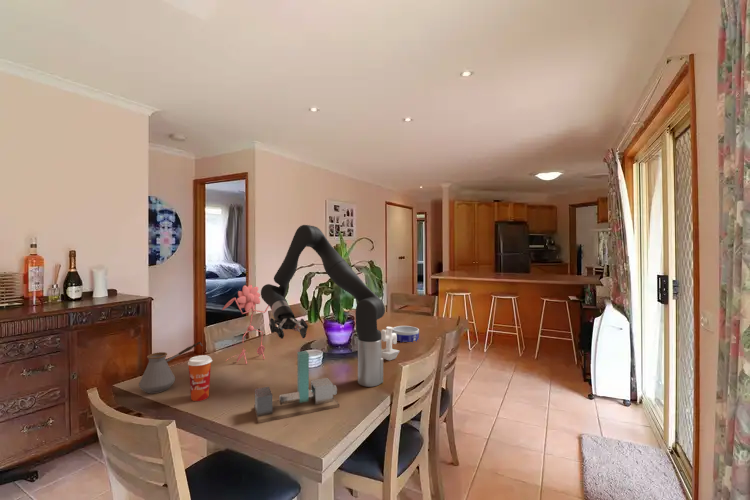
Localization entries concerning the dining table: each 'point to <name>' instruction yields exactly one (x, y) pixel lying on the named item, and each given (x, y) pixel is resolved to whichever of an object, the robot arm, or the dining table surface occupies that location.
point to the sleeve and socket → (320, 385)
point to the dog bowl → (406, 333)
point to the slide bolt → (302, 383)
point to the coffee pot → (159, 372)
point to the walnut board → (295, 409)
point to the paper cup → (199, 377)
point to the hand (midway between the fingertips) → (293, 336)
